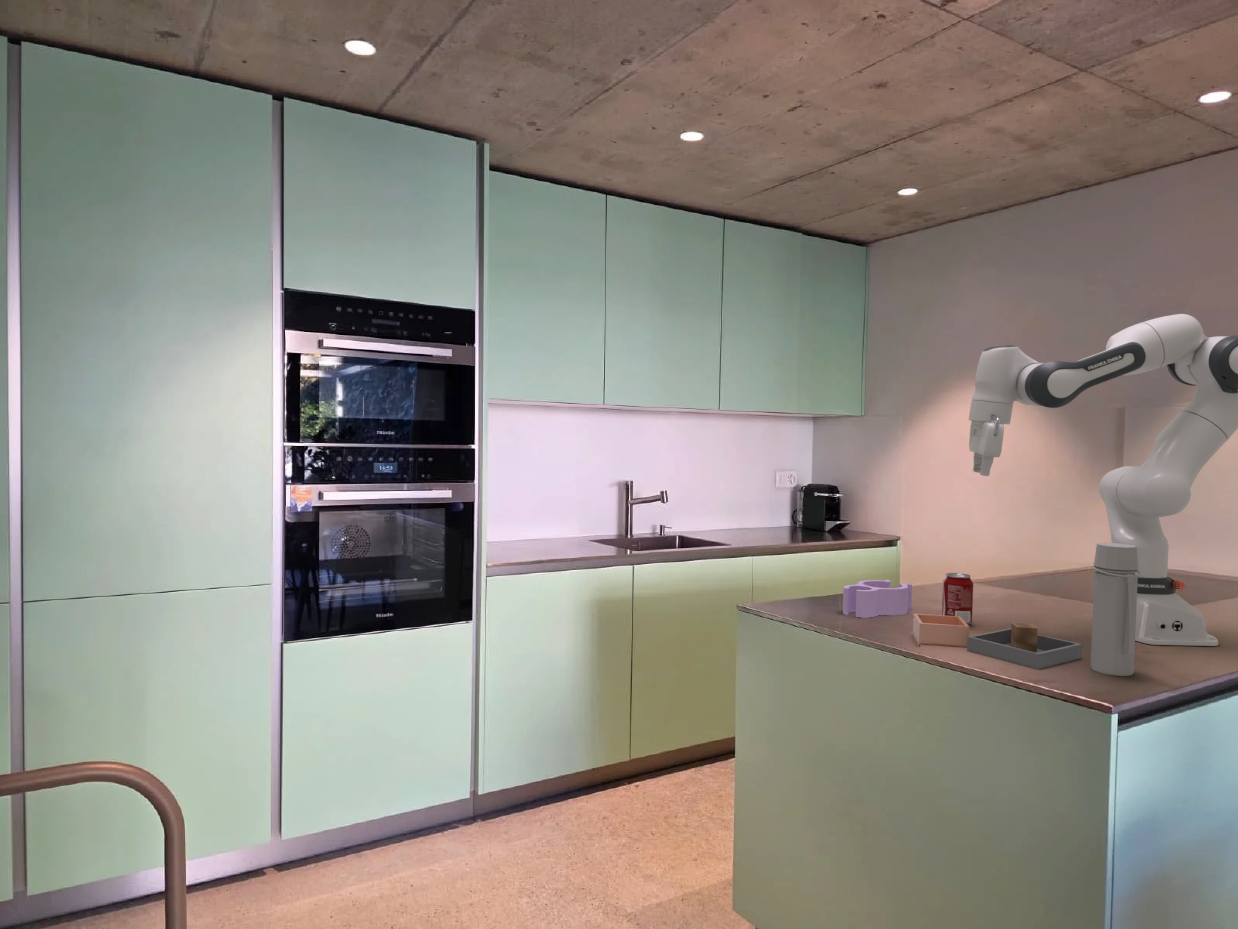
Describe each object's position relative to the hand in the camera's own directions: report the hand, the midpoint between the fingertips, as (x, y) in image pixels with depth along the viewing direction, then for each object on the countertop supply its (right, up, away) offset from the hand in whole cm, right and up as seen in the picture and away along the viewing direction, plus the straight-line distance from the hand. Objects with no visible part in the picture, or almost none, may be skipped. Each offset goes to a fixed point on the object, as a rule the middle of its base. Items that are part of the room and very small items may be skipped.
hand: (980, 473), depth 189 cm
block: (-1, -37, -21) cm, 43 cm away
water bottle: (+11, -39, -33) cm, 52 cm away
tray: (-1, -38, -21) cm, 43 cm away
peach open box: (-14, -37, -10) cm, 41 cm away
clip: (-18, -36, +20) cm, 45 cm away
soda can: (-2, -37, +8) cm, 38 cm away
